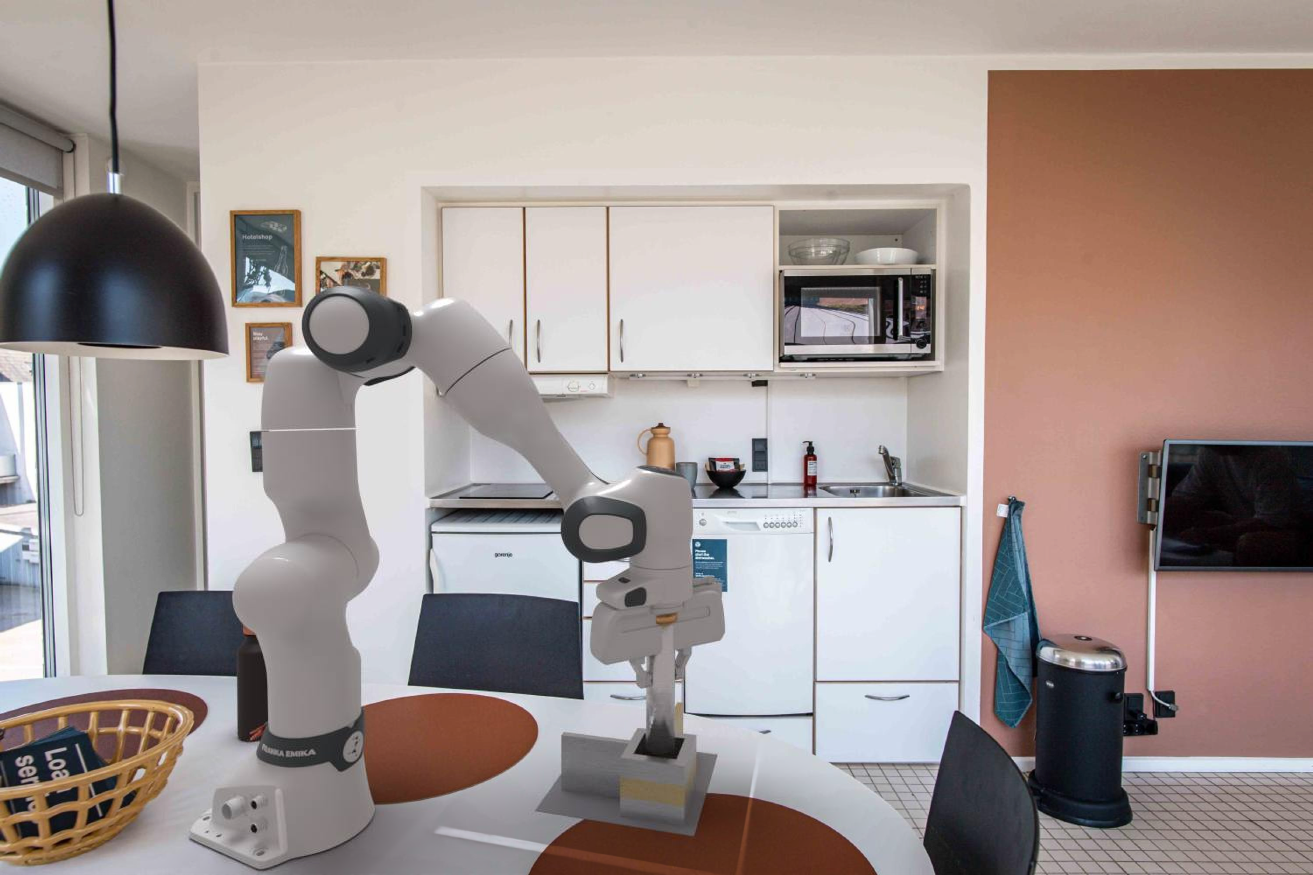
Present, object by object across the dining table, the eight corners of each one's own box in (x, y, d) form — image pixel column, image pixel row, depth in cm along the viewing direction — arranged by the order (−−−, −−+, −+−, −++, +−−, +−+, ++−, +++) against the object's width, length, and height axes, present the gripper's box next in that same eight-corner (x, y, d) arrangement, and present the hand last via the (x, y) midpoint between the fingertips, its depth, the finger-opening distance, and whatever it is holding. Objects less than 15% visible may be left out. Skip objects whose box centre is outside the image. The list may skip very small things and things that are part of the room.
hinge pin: (640, 753, 89) (640, 615, 88) (648, 737, 93) (649, 605, 93) (673, 757, 87) (673, 617, 87) (679, 740, 92) (680, 608, 91)
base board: (534, 819, 88) (534, 810, 88) (587, 744, 109) (587, 737, 109) (694, 844, 83) (694, 835, 83) (717, 761, 104) (717, 754, 104)
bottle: (246, 725, 115) (245, 613, 114) (288, 721, 116) (288, 610, 116) (230, 743, 108) (229, 624, 108) (275, 739, 110) (275, 622, 109)
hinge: (550, 805, 90) (550, 748, 89) (594, 740, 108) (595, 692, 108) (684, 826, 85) (684, 766, 85) (706, 754, 103) (707, 705, 103)
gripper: (708, 569, 98) (708, 660, 98) (585, 587, 87) (584, 689, 87) (734, 578, 92) (734, 674, 93) (606, 598, 82) (606, 707, 82)
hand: (660, 682), depth 90 cm, fingers closed on hinge pin, 4 cm apart
